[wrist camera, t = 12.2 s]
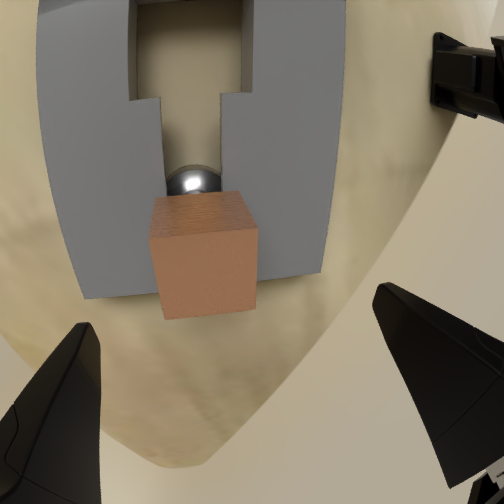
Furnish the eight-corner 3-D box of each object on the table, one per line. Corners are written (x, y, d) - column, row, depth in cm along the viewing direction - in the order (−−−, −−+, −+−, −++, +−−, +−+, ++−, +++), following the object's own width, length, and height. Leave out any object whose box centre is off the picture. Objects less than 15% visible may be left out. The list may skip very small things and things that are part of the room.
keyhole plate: (58, 9, 10) (39, 0, 7) (322, -3, 13) (345, -14, 10) (93, 272, 20) (84, 299, 17) (305, 249, 23) (320, 272, 20)
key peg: (228, 162, 18) (263, 223, 11) (229, 225, 20) (259, 311, 13) (157, 168, 17) (142, 234, 10) (164, 231, 19) (161, 323, 12)
